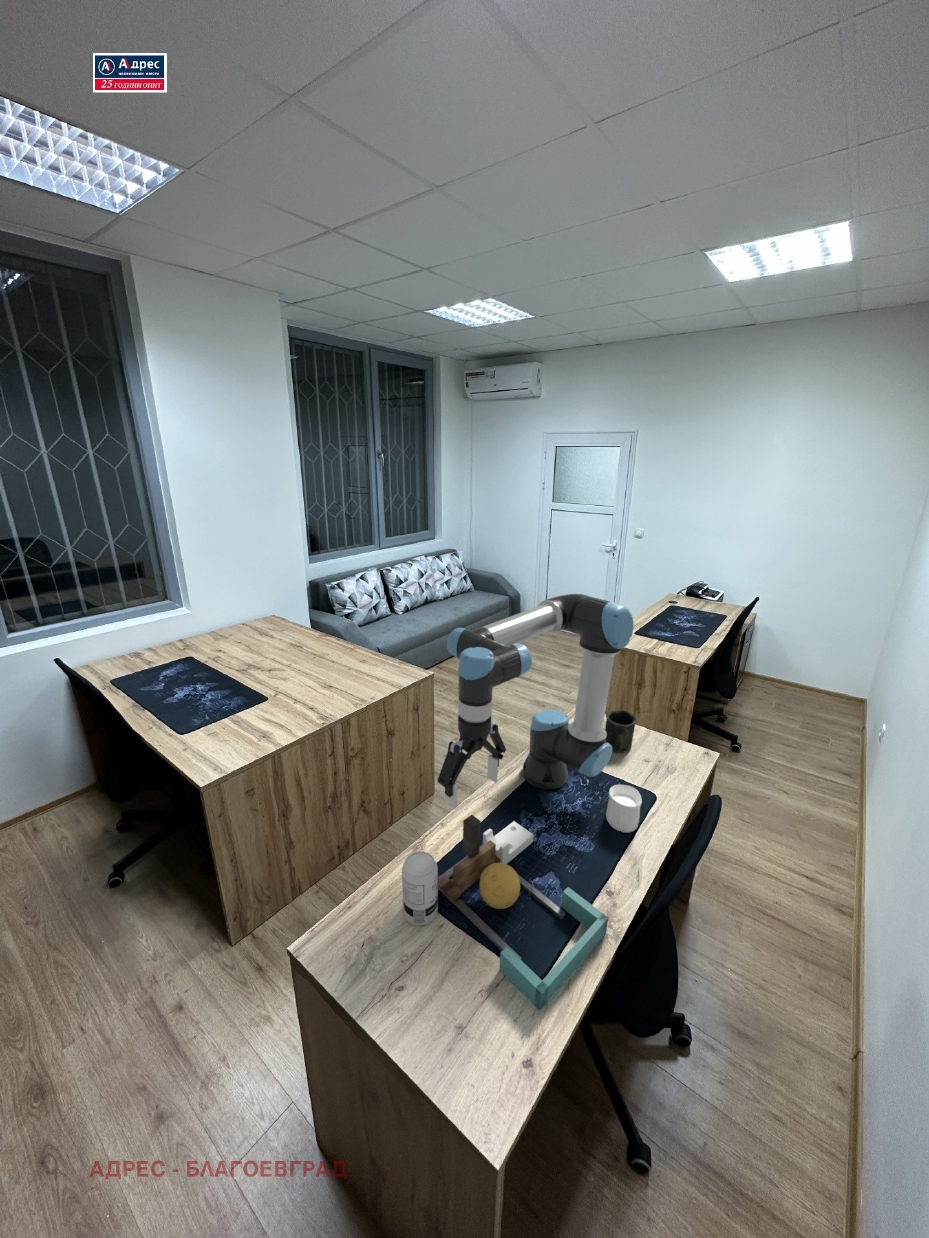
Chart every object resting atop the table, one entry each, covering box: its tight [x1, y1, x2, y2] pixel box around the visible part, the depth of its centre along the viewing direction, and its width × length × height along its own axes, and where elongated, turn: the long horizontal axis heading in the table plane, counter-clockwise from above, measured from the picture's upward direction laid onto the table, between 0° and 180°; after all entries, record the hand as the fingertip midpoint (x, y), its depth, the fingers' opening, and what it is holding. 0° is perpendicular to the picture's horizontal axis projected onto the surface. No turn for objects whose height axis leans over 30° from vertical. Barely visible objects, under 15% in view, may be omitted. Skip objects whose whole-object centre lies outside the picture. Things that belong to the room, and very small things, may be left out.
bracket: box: [482, 820, 534, 865], centre depth 134 cm, size 13×7×8 cm, turn 134°
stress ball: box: [478, 863, 521, 910], centre depth 118 cm, size 10×10×10 cm
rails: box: [438, 844, 566, 961], centre depth 120 cm, size 18×28×1 cm, turn 43°
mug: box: [604, 709, 638, 753], centre depth 182 cm, size 11×15×12 cm
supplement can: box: [401, 851, 439, 927], centre depth 114 cm, size 8×8×15 cm
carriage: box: [438, 814, 500, 903], centre depth 123 cm, size 19×6×18 cm, turn 133°
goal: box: [499, 886, 609, 1012], centre depth 107 cm, size 24×11×5 cm, turn 133°
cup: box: [605, 784, 643, 834], centre depth 144 cm, size 10×10×10 cm
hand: (472, 791), depth 117 cm, fingers open, 13 cm apart
